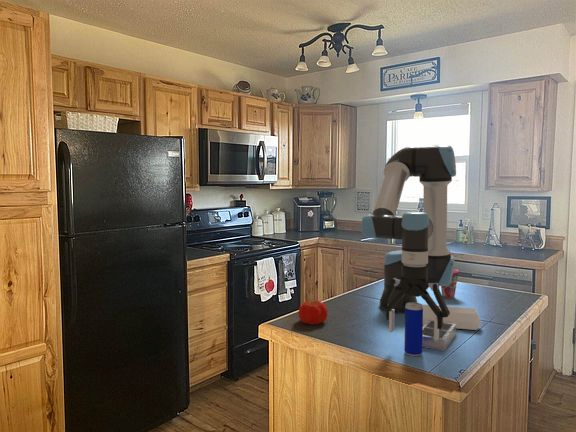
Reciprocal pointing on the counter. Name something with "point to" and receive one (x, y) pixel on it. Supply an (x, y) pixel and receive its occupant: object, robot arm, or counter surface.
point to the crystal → (455, 317)
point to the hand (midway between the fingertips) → (413, 335)
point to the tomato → (313, 312)
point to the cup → (450, 286)
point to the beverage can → (413, 329)
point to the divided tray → (444, 335)
